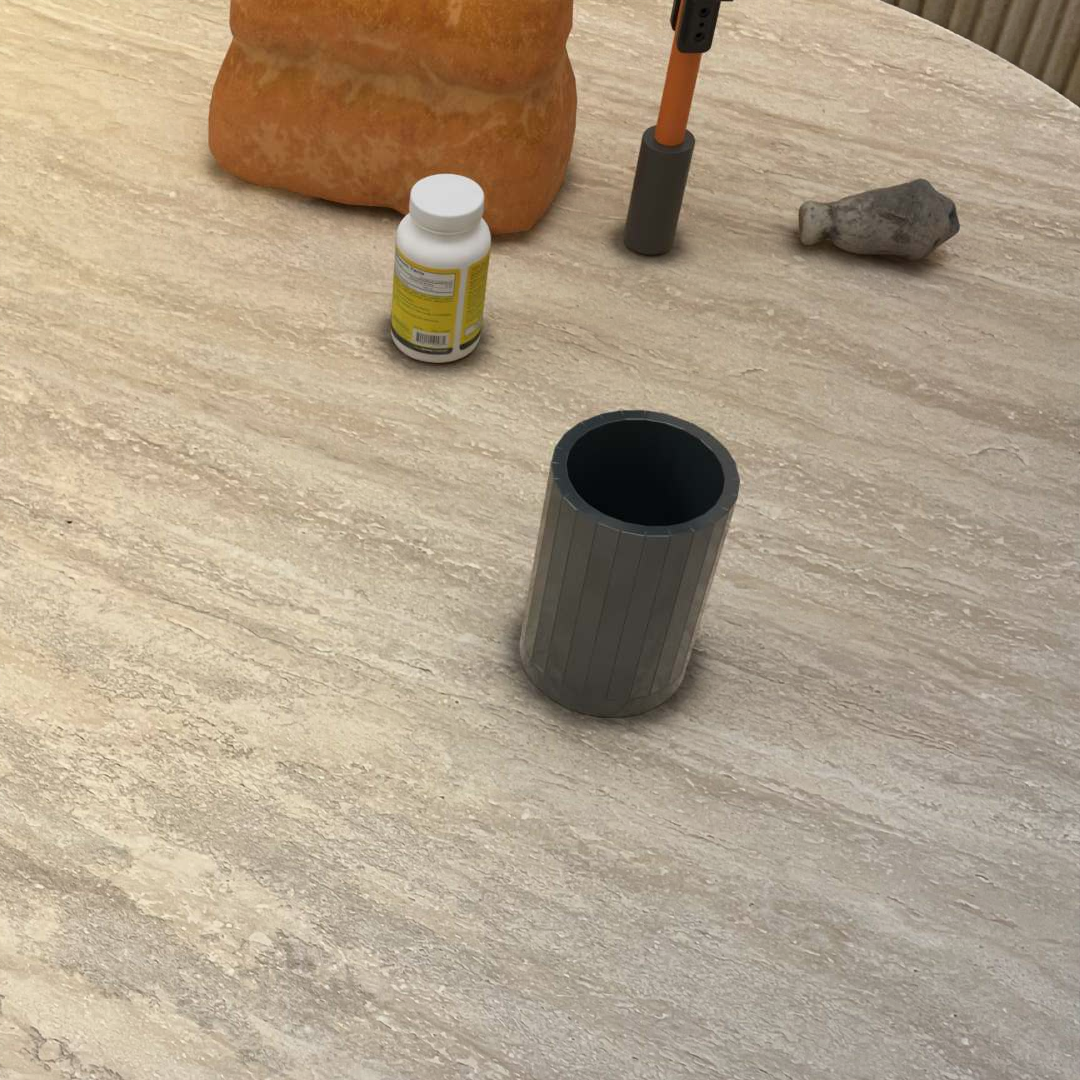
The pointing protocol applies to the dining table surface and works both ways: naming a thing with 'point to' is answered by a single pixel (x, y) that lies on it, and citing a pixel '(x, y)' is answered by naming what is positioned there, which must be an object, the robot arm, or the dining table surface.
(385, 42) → the bread
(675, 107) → the brush
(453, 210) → the pill bottle
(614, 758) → the dining table surface
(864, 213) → the stone
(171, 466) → the dining table surface
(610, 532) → the ribbed pencil cup
